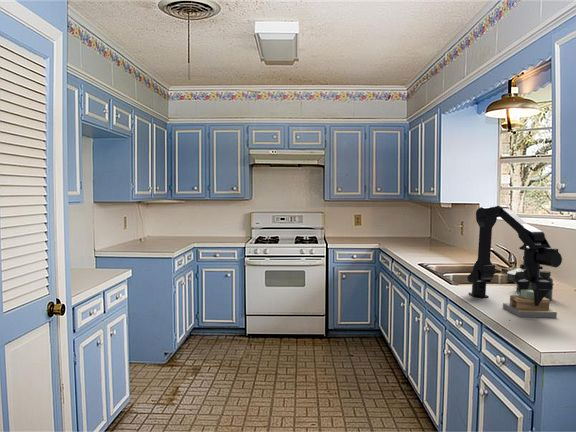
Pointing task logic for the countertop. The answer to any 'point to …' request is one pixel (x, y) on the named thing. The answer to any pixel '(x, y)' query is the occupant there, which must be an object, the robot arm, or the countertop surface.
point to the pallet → (528, 303)
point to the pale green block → (527, 294)
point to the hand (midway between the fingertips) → (529, 302)
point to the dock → (529, 312)
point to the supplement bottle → (546, 276)
